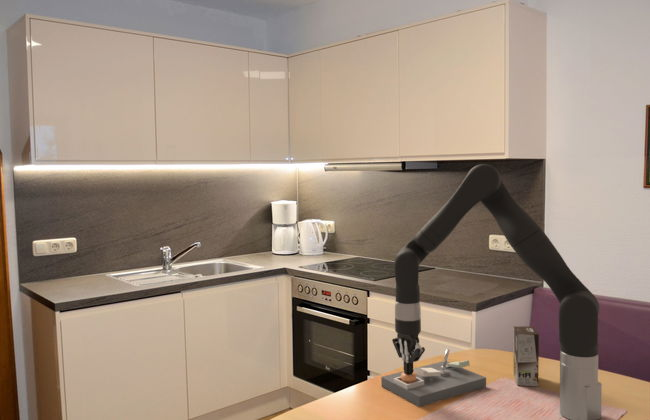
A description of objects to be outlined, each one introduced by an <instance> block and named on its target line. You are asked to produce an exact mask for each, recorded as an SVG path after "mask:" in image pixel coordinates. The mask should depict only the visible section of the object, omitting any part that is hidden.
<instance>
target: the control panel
mask: <svg viewBox="0 0 650 420" xmlns="http://www.w3.org/2000/svg"><path fill="white" fill-rule="evenodd" d="M448 363H451V362H450V361H447V363H446V367H445V368H446V369H445V370H444V371H443V370H441V367H442V364H443V360H442V361H438V362H435V363H431V364H428V365H427V364H426V365H424V366H419V367H417V368H433V369H436V370H438V371H440V372H441V376H426V377H423V376H420V375H418V374H416V382H413V383H404V382H402V381H401V373H402V372H404V370H403V371H399V372H396V373H391V374H387V375H384V376H381V378H380V379H381V387H382V388H384V389H386V390H387V391H389V392H391V393H393V394H395V395H396V396H398V397H400V398H402V399H404V400H405V401H407V402H409V403H411V404H413V405H415V406H416V407H418V408H421V407H424V406H427V405H431V404H433V403H437V402H441V401H445V400H448V399H451V398H454V397H458V396H461V395H464V394H468V393H471V392H475V391H477V390H482V389H485V388H487V377H486V376H483V375H480V374H479V373H476V372H474V371H472V370H469V369H467V368H465V367H462V368H459V367H451V366H448ZM413 371H414V368H413ZM484 387H485V388H484Z"/></svg>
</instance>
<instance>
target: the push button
mask: <svg viewBox="0 0 650 420" xmlns="http://www.w3.org/2000/svg"><path fill="white" fill-rule="evenodd" d="M401 372H402V373H401V381H402V382H404V383H413V382H416V373H415V372H413V374H410V375H407V374H405V373H404V372H403V371H401Z"/></svg>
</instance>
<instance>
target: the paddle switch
mask: <svg viewBox="0 0 650 420" xmlns="http://www.w3.org/2000/svg"><path fill="white" fill-rule="evenodd" d="M448 366H451V367H459V368H465V367H469V366H470V360H468V359H466V360H463V361H452V362H450V363H448Z"/></svg>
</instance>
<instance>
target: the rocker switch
mask: <svg viewBox="0 0 650 420" xmlns="http://www.w3.org/2000/svg"><path fill="white" fill-rule="evenodd" d="M413 369H414V371H413V372H415V373H416V374H418V375H420V376H423V377H426V376H441V372H440V371H438V370H436V369H433V368H418V367H413Z"/></svg>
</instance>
